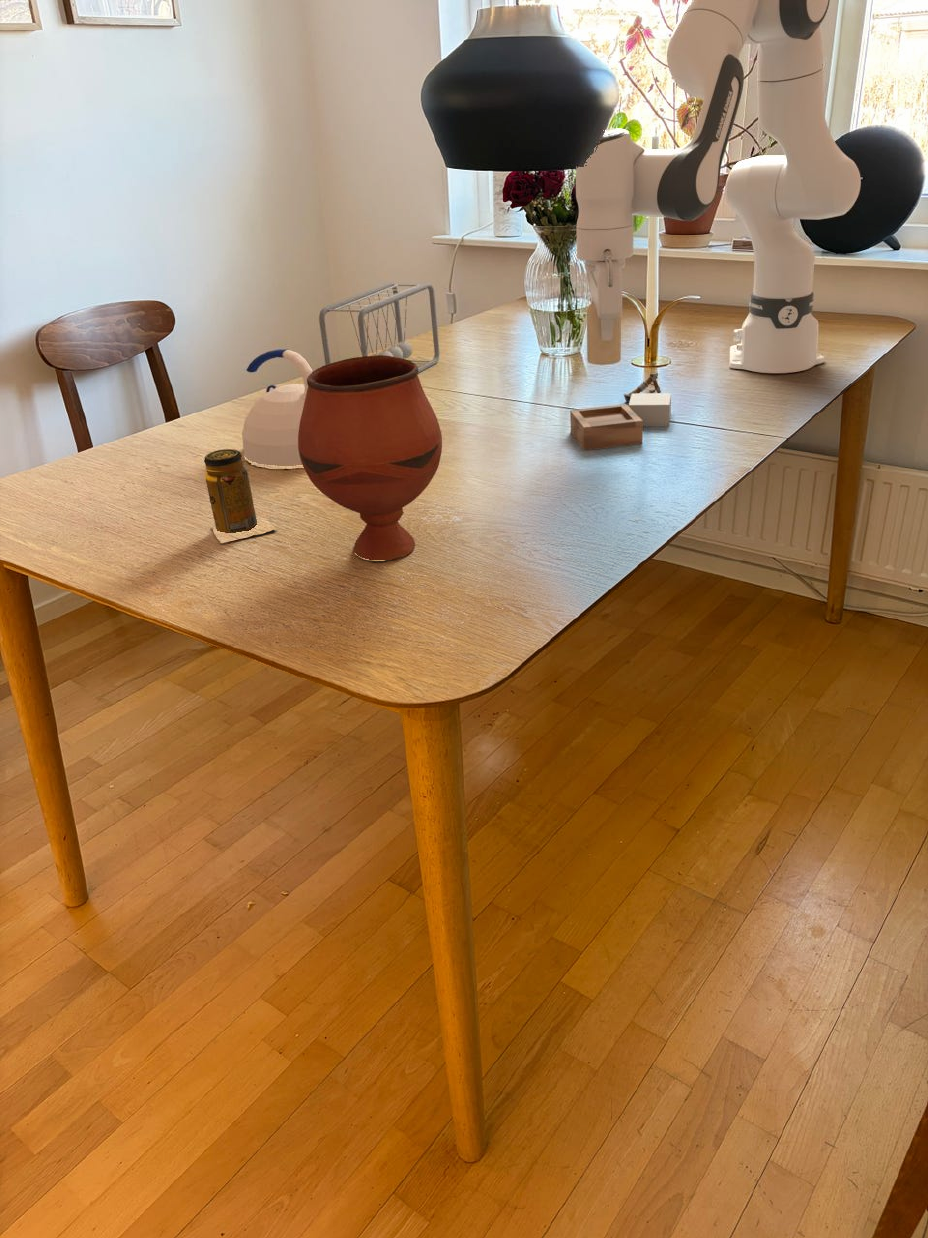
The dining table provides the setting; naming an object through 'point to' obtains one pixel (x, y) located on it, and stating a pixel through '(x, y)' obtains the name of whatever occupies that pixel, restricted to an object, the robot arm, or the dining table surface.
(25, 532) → the dining table surface
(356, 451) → the goblet
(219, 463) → the condiment
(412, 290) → the newton's cradle
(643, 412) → the grey block
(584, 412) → the square wooden tray
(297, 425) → the kettle
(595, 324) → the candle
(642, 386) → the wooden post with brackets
